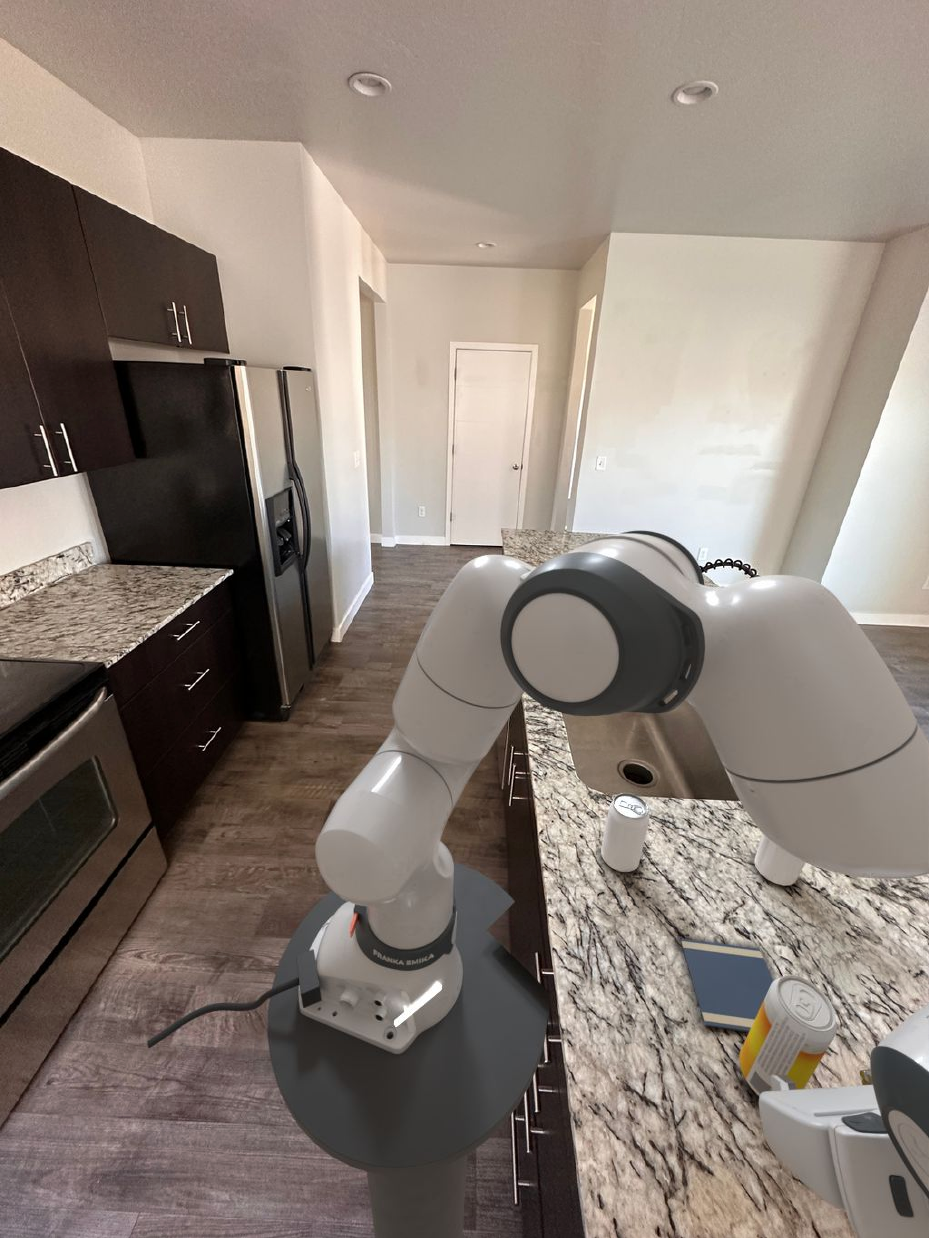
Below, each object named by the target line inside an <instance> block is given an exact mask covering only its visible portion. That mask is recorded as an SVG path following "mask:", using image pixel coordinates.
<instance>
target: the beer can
mask: <svg viewBox="0 0 929 1238" xmlns="http://www.w3.org/2000/svg"><path fill="white" fill-rule="evenodd" d="M837 1033H838V1022H837V1014H836V1010H835V1008H834V1006H833V1004H832V1002H831V1001H830V999H829V998H828V996H827V995H826V994H825V993H824V991H822V989H820V988H819V986H817V985H816V984H814V983H813V982H812V981H810V980H808V979H806V978H805V977H802V976H799V975H797V974H785V975H783V976H781V977H778V978H775V979H774V980H773V982H772V984H771V986H770V988H769V990H768V992H767V995H766V997H765V999H764V1001H763V1003H762V1005H761V1008H760V1010H759V1012H758V1014H757V1016H756V1018H755V1021H754V1023H753V1025H752V1027H751V1029H750V1031H749V1033H748V1034H747V1036H746V1038H745V1040H744V1042H743V1045H742V1046H741V1049H740V1051H739V1057H738V1061H739V1067H740V1070H741V1073H742V1075H743V1077H744V1079H745V1081H746V1083H747V1084H748V1085H749V1087H750V1088H751V1090H753V1092H754V1093H755V1094H756V1095H757V1096H758V1097H760V1094H761V1093H762V1092H765V1091H773V1089H772V1084H771V1079H770V1077H771V1076H772V1075H786V1076H788V1078H790V1079H792V1080H793V1081H794V1082H795V1084H796V1089H797V1090H798V1089H806V1086H807V1085H808V1083H809V1081H810V1080H811V1078H812V1076H813V1074H814V1073H815V1071H816V1069H817V1067H818V1066H819V1065H820V1063H821V1061H822V1059H823V1058H824V1056H825V1054H826V1052H827V1051H828V1048H829V1047H830V1046H831V1044H832V1042H833V1040H834V1039H835V1037H836V1036H837Z"/></svg>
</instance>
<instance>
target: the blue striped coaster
mask: <svg viewBox="0 0 929 1238" xmlns="http://www.w3.org/2000/svg"><path fill="white" fill-rule="evenodd" d="M680 943H681V948H682V950H683V951H682V952H683V954H684V958H685V961H686V965H687V968H688V972H689V976H690V980H691V982H692V985H693V989H694V993H695V996H696V1000H697V1003H698V1007H699V1011H700V1013H701V1018H702V1021H703V1025H704V1027H708V1028H714V1029H721V1030H729V1031H735V1032H741V1033H746V1034H747V1033H748V1034H749V1031H750V1029H751V1027H752V1025H753V1023H754V1021H755V1018H756V1016H757V1014H758V1012H759V1010H760V1008H761V1005H762V1003H763V1001H764V999H765V997H766V995H767V992H768V990H769V988H770V986H771V984H772V982H773V981H774V980H773V978H772V976H771V973H770V971H769V968H768V966H767V963H766V962H765V959H764V956H763V953H762V952H761V950H760V948H758V947H757V948H756V947H750V946H742V945H741V946H740V945H735V944H726V943H719V942H710V941H704V940H696V939H688V938H680Z"/></svg>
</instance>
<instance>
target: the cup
mask: <svg viewBox="0 0 929 1238" xmlns="http://www.w3.org/2000/svg"><path fill="white" fill-rule="evenodd" d="M753 862H754V866H755V869H756V870H757V871H758V872H759V874H760V875H762V876H763V877H764V878H765V879H767V880H768V881H770V882H772V883H774V884H776V885H780V886H792V885H794V884H795V883H796V882H797V880H798V878H799V876H800V874H801V873H802V871H803V869H804V867H805V865H806V864H807V863H806V862H804V861H802V860H800V859H798V858H796V857H794V856H792V855H791V854H789V853H788V852H786V851H784V850H783V849H781V848H780V847H778V846H777V845H776V844H775V843H773V842H772V841H771V840H769V839H768V838H767V837H766V836H765V835H764V834H763V833H762V832H761V836H760V840H759V843H758V847H757V849H756V853H755V855H754V859H753Z"/></svg>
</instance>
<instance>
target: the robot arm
mask: <svg viewBox="0 0 929 1238" xmlns="http://www.w3.org/2000/svg"><path fill="white" fill-rule="evenodd" d="M524 693H525V694H526V695H528V696H529V697H530V698H531V699H532V700H534V701H535V702H536V703H538V704H540V705H541V706H542V707H545V708H547V709H549V710H550V711H551V710H552V711H555V712H558V713H560V714H564V715H569V716H576V717H600V716H601V717H602V716H608V715H609V716H610V715H615V714H622V713H638V714H665V713H669V712H671V711H673V710H675V709H676V708H678V707H679V706H680V705H681V704H682V703H683V702H684V701H685V702H686V703H687V704H688V705H689V706H690V707H692V709H693V710H694V712H695V713H696V714H697V716H698V717H699V719H700V721H701V722H702V724H703V726H704V728H705V730H706V732H707V734H708V736H709V738H710V740H711V743H712V745H713V747H714V749H715V751H716V753H717V756H718V758H719V761H720V762H721V764H722V766H723V768H724V771H725V773H726V775H727V778H728V780H729V782H730V784H731V786H732V788H733V790H734V792H735V795H736V796H737V798H738V800H739V802H740V804H741V805H742V807H743V809H744V811H745V812H746V814H747V815H748V817H749V818H750V819H751V821H752V822H753V823H754V825H755V826H756V827H757V828H758V830H759V831H760V832H761V834H762V833H763V834H764V835H765V836H766V837H767V838H768V839H769V840H771V841H772V842H773V843H775V844H776V845H777V846H778V847H780V848H781V849H783V850H784V851H786V852H788V853H789V854H791V855H792V856H794V857H796V858H798V859H800V860H802V861H804V862H806V863H805V864H809V865H811V866H814V867H816V868H819V869H822V870H825V871H828V872H832V873H836V874H841V875H845V876H851V877H856V878H862V879H863V878H864V879H874V880H900V879H902V880H903V879H911V878H916V877H920V876H925V875H928V874H929V741H928V739H927V737H926V736H925V734H924V732H923V730H922V728H921V726H920V725H919V723H918V720H917V719H916V716H915V714H914V712H913V710H912V709H911V707H910V705H909V703H908V700H907V698H906V697H905V695H904V693H903V691H902V689H901V687H899V684H898V683H897V681H896V679H895V678H894V676H893V674H892V672H891V671H890V669H889V667H888V666H887V664H886V662H885V661H884V659H883V658H882V656H881V655H880V653H879V652H878V650H877V649H876V647H875V646H874V645H873V643H872V641H871V640H870V639H869V637H868V636H867V634H866V633H865V632H864V631H863V629H862V628H861V626H860V625H859V624H858V622H857V621H856V619H855V618H854V617H853V616H852V614H850V612H849V611H848V610H847V608H846V607H845V606H844V605H843V603H842V602H841V601H840V599H838V597H837V595H835V594H834V593H833V592H832V591H831V590H830V589H828V588H827V587H825V586H824V585H823V584H822V583H820V582H817V581H815V580H813V579H810V578H808V577H804V576H799V575H793V574H791V575H789V574H767V575H760V576H754V577H750V578H746V579H743V580H739V581H736V582H734V583H731V584H728V585H727V586H707V585H705V578H704V575H703V572H702V569H701V567H700V565H699V563H698V560H696V558H695V557H694V554H692V553H691V552H690V550H689V549H688V548H687V547H686V546H684V544H682V543H681V542H679V541H677V540H676V539H674V538H673V537H670V536H668V535H665V534H663V533H659V532H656V531H651V530H629V531H625V532H621V533H617V534H609V535H605V536H601V537H598V538H594V539H592V540H589V541H586V542H584V543H583V544H581V545H578V547H576V548H574V549H572V550H570V551H568V552H566V553H564V554H560V555H557V556H555V557H551V558H550V559H548V560H546V561H544V562H543V563H541V564H539V566H537V567H534V566H532V565H530V564H529V563H527V562H525V560H524V561H523V560H521V559H519V558H517V557H512V556H509V555H503V554H485V555H481V556H478V557H475V558H473V559H472V560H469V561H468V562H467V563H466V564H464V565H463V566H462V567H461V569H459V571H458V573H456V575H455V576H454V578H453V579H452V581H451V582H450V583H449V585H448V586H447V588H446V589H445V591H444V592H443V594H442V596H441V597H440V598H439V600H438V602H437V604H436V605H435V607H434V608H433V610H432V611H431V613H430V615H429V618H428V620H427V622H426V623H425V625H424V627H423V629H422V632H421V635H420V637H419V639H418V641H417V643H416V645H415V647H414V650H413V653H412V655H411V658H410V660H409V661H408V664H407V666H406V669H405V671H404V674H403V676H402V678H401V681H400V683H399V685H398V688H397V691H396V693H395V696H394V698H393V699H392V703H391V704H392V705H391V713H392V719H393V722H394V725H393V728H392V729H391V731H390V733H389V734H388V736H387V737H386V739H385V740H384V741H383V743H382V744H381V746H380V747H379V749H378V750H377V751H376V753H375V754H374V755H373V756H372V758H371V759H370V760H369V761H368V763H367V764H366V765H365V766H364V768H362V770H361V771H360V772H359V774H358V775H357V776H356V777H355V778H354V779H353V781H352V782H351V783H350V785H348V787H347V788H346V789H345V790H344V792H343V793H342V794H341V795H340V796H339V797H338V798H337V801H336V802H335V804H334V805H333V808H332V810H331V811H330V813H329V815H328V817H327V819H326V821H325V822H324V824H323V827H322V828H321V831H320V833H319V834H318V837H317V839H316V841H315V843H314V844H315V845H314V855H315V861H316V865H317V868H318V871H319V873H320V875H321V877H322V879H323V881H324V882H325V884H326V885H327V887H328V888H329V889H330V891H333V892H334V893H336V894H337V895H338V896H339V897H341V898H342V899H344V900H346V901H348V902H347V903H345V904H343V905H342V906H341V907H340V908H339V909H338V910H337V911H336V912H335V914H334V915H333V916H332V917H331V918H330V919H329V920H328V921H327V922H326V923H325V924H324V925H323V927H322V928H321V930H320V931H319V933H318V934H317V936H316V938H315V940H314V942H313V944H312V946H311V948H310V950H309V951H307V952H305V953H302V954H300V955H297V956H296V962H297V969H298V978H296V979H293V980H291V981H288V982H286V983H284V984H281V985H279V986H277V987H274V988H272V987H271V988H270V989H269V990H267V991H265V992H264V993H263V994H262V995H261V996H260V997H259V998H258V999H256V1000H254V1001H250V1002H216V1003H211V1004H208V1005H204V1006H202V1007H199V1008H197V1009H195V1010H192V1011H191V1012H189V1013H188V1014H186V1015H184V1016H183V1017H181V1018H179V1019H178V1020H176V1021H174V1022H173V1023H172V1024H171V1025H169V1026H168V1027H167V1028H165V1029H164V1030H162V1031H161V1032H159V1033H157V1034H156V1035H154V1036H153V1037H151V1038H149V1039H148V1040H146V1043H147V1048H148V1049H151V1048H152V1047H154V1046H155V1045H157V1044H158V1043H160V1042H162V1041H163V1040H164V1039H166V1038H168V1037H169V1036H170V1035H172V1034H174V1033H175V1032H177V1030H179V1029H180V1028H182V1027H183V1026H185V1025H186V1024H188V1023H189V1022H191V1021H193V1020H195V1019H197V1018H199V1017H202V1016H205V1015H206V1014H210V1013H213V1012H221V1011H222V1012H223V1011H224V1012H227V1011H228V1012H248V1011H254V1010H256V1009H258V1008H260V1007H261V1006H262V1005H264V1003H265V1002H266V1001H267V1000H270V998H271V997H272V996H274V995H277V994H279V993H281V992H283V991H286V990H288V989H291V988H293V987H295V986H298V985H299V1008H300V1012H301V1013H302V1014H303V1015H305V1016H307V1017H310V1018H312V1019H314V1020H316V1021H319V1022H321V1023H323V1024H326V1025H328V1026H331V1027H333V1028H335V1029H338V1030H340V1031H342V1032H345V1033H347V1034H349V1035H352V1036H354V1037H356V1038H359V1039H361V1040H363V1041H366V1042H368V1043H370V1044H373V1045H375V1046H377V1047H380V1048H382V1049H384V1050H387V1051H389V1052H391V1053H394V1054H401V1053H403V1052H404V1051H405V1050H406V1049H407V1048H408V1047H409V1046H410V1045H411V1044H412V1042H413V1041H414V1040H415V1039H416V1037H417V1036H418V1035H419V1034H420V1033H422V1032H423V1031H425V1030H426V1029H428V1028H430V1027H432V1026H434V1025H435V1024H437V1023H438V1022H439V1021H440V1020H442V1019H443V1018H444V1017H445V1016H446V1015H447V1014H448V1012H449V1011H450V1010H451V1009H452V1007H453V1006H454V1004H455V1002H456V1000H457V998H458V996H459V993H460V990H461V986H462V980H463V966H462V960H461V957H460V954H459V951H458V949H457V947H456V944H455V939H456V928H457V911H456V903H455V897H454V894H453V878H454V864H453V862H454V859H453V856H452V853H451V851H450V850H449V848H448V847H447V845H445V843H444V842H442V841H441V839H442V836H443V833H444V830H445V827H446V825H447V823H448V820H449V818H450V817H451V815H452V813H453V811H454V809H455V807H456V805H457V803H458V801H459V799H460V797H461V795H462V794H463V792H464V790H465V788H466V786H467V784H468V782H469V781H470V779H471V778H472V776H473V774H474V772H475V771H476V769H477V768H478V766H479V765H480V763H482V761H483V759H484V758H485V757H486V756H487V755H488V753H489V752H490V751H491V749H492V747H493V745H494V744H495V742H496V740H497V739H498V737H499V735H500V733H501V732H502V730H503V729H504V727H505V725H506V724H507V722H508V720H509V718H510V717H511V715H512V713H513V712H514V710H515V708H516V707H517V705H518V703H519V702H520V700H521V699H522V697H523V695H524ZM672 695H673V697H672V698H671V699H670V700H669V701H667V702H665V700H666V699H668V698H669V697H670V696H672ZM335 1015H336V1016H335ZM388 1035H393V1038H392V1039H387V1036H388ZM869 1057H870V1060H869V1064H870V1065H869V1067H870V1069H869V1068H868V1069H861V1070H859V1077H860V1078H861V1085H846V1086H845V1085H844V1086H834V1087H833V1086H831V1087H816V1088H804V1089H798V1090H797V1089H796V1084H795V1082H794V1081H793V1080H792V1079H790V1078H788V1076H786V1075H772V1076H771V1077H770V1079H771V1084H772V1089H773V1091H765V1092H762V1093H761V1094H760V1096H759V1098H758V1109H759V1110H758V1111H759V1115H760V1121H761V1126H762V1131H763V1135H764V1138H765V1141H766V1143H767V1145H768V1147H769V1149H770V1150H771V1152H772V1153H773V1154H774V1155H775V1156H776V1157H777V1159H778V1160H779V1161H780V1162H781V1163H782V1164H783V1165H784V1166H785V1167H786V1168H787V1169H788V1170H789V1172H791V1173H792V1174H793V1175H794V1176H795V1177H796V1178H797V1179H798V1180H799V1181H800V1182H801V1183H802V1184H803V1185H804V1186H806V1187H807V1188H808V1189H809V1190H810V1191H811V1192H812V1193H813V1194H815V1195H816V1196H817V1197H818V1198H820V1199H821V1200H822V1201H824V1202H825V1203H826V1204H828V1205H831V1206H832V1207H834V1208H836V1209H838V1210H840V1211H843V1212H845V1213H846V1216H847V1219H848V1222H849V1225H850V1228H851V1230H852V1231H853V1233H854V1234H855V1235H856V1236H857V1237H858V1238H929V1001H928V1002H926V1004H924V1005H923V1006H922V1007H921V1008H919V1009H916V1010H915V1011H914V1012H913V1013H912V1014H911V1015H909V1016H908V1017H907V1018H905V1020H904V1021H902V1022H901V1023H899V1024H898V1026H896V1027H895V1028H894V1029H893V1030H892V1031H891V1032H889V1033H888V1034H887V1035H886V1036H885V1037H884V1038H883V1039H882V1040H880V1042H879V1043H878V1044H877V1046H875V1047H873V1048H872V1050H871V1052H870V1056H869Z"/></svg>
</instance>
